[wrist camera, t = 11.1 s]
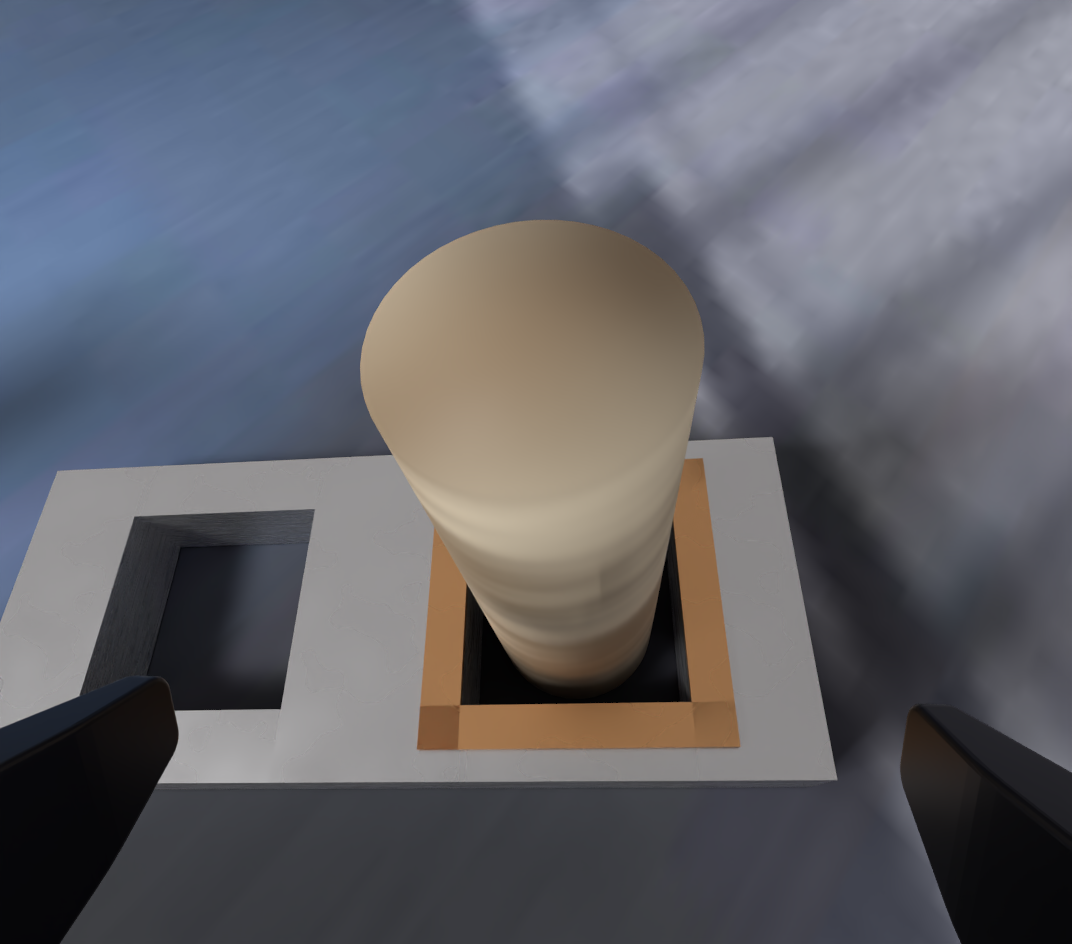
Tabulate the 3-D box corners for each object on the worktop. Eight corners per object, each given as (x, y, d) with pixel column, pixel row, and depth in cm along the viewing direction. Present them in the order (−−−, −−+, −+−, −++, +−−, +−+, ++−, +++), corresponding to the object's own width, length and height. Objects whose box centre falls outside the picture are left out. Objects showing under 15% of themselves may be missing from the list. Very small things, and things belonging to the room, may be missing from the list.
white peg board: (756, 477, 22) (773, 433, 19) (809, 786, 17) (840, 779, 15) (108, 504, 24) (53, 467, 21) (15, 789, 19) (-68, 784, 17)
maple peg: (682, 623, 20) (779, 334, 8) (574, 733, 19) (516, 573, 7) (576, 525, 22) (537, 176, 10) (472, 620, 20) (295, 349, 9)
